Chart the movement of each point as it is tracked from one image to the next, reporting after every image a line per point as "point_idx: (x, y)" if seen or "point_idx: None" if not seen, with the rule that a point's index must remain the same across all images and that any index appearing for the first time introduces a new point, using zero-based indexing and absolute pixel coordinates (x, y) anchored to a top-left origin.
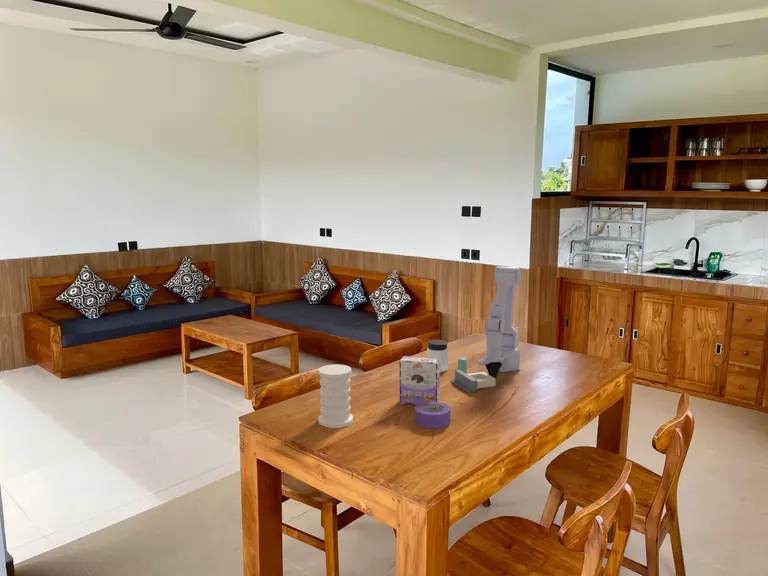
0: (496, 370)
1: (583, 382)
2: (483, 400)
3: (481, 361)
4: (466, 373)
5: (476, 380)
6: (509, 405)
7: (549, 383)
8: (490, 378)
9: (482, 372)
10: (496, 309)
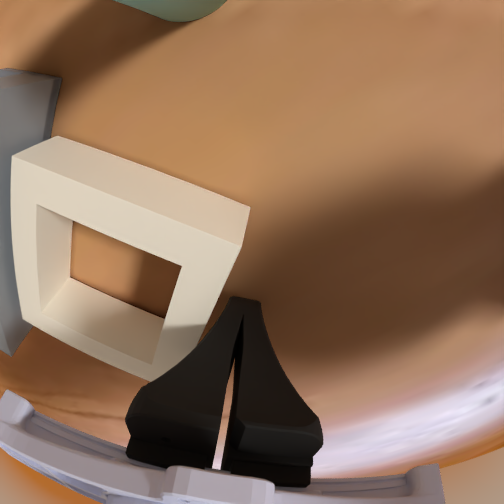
0: (229, 419)
1: (461, 452)
2: (35, 361)
3: (7, 452)
4: (200, 8)
5: (6, 352)
6: (96, 423)
7: (416, 435)
8: (146, 369)
9: (211, 250)
10: None
